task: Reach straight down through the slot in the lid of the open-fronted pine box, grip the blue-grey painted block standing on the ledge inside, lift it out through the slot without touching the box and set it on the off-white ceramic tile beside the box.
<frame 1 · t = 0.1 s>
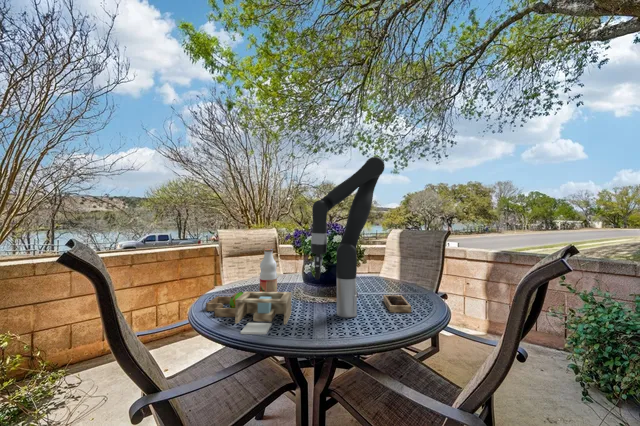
hand: (317, 277, 135), 17 cm above the table, tool pointing down, fingers open, 8 cm apart
fruit juice: (268, 300, 157), on the table
wooden tray: (396, 306, 147), on the table
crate: (264, 318, 129), on the table
corn rack: (238, 307, 145), on the table
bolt: (396, 307, 146), on the table
block: (264, 311, 129), point 3 cm above the table, touching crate
tile: (256, 329, 116), on the table
corn: (238, 307, 145), on the table
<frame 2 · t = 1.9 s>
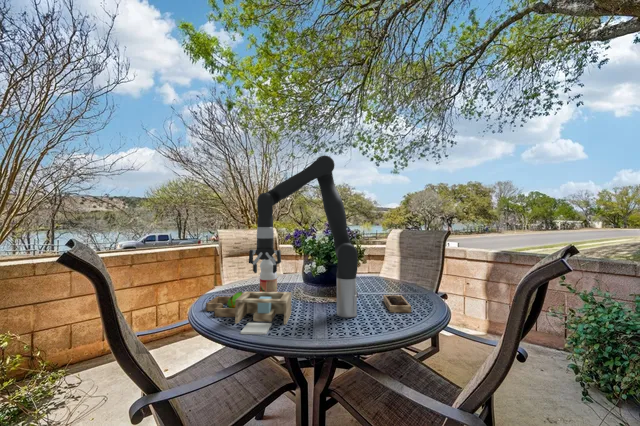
hand: (264, 273, 129), 20 cm above the table, tool pointing down, fingers open, 8 cm apart
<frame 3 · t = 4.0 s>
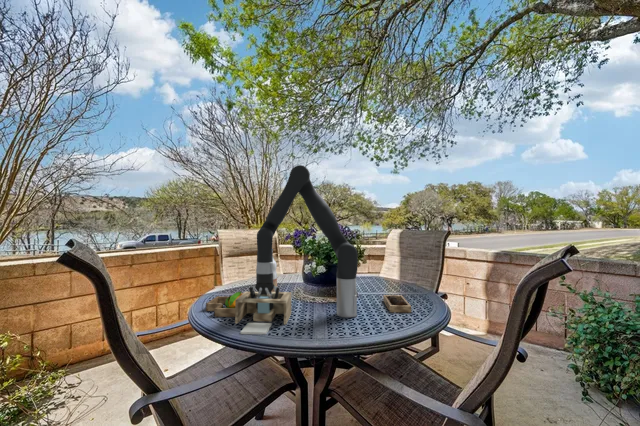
hand: (264, 309, 129), 4 cm above the table, tool pointing down, fingers closed on block, 5 cm apart
block: (264, 311, 129), point 3 cm above the table, touching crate, gripper
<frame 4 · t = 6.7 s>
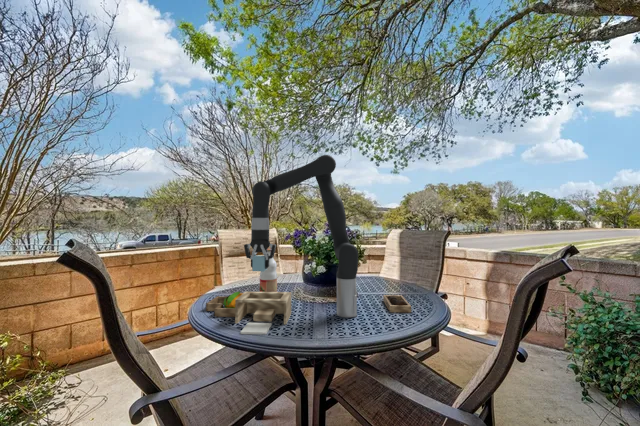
hand: (259, 268, 122), 24 cm above the table, tool pointing down, fingers closed on block, 5 cm apart
block: (259, 270, 123), point 23 cm above the table, touching gripper
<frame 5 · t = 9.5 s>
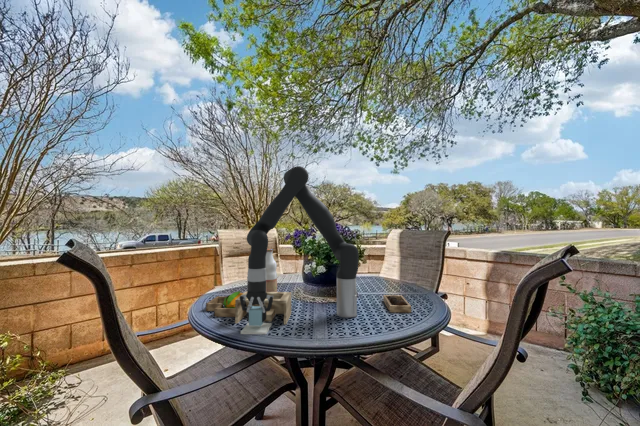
hand: (256, 320, 116), 3 cm above the table, tool pointing down, fingers closed on block, 5 cm apart
block: (256, 323, 116), point 2 cm above the table, touching gripper
when the fingers open (3 cm above the table, at t = 9.9 s): block drops 1 cm, resting on tile.
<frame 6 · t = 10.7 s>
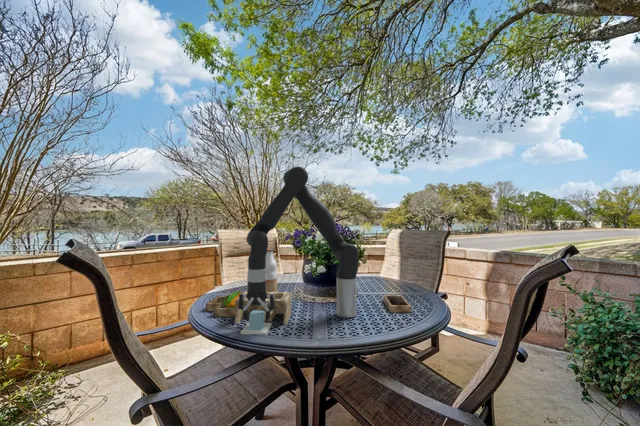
hand: (256, 319, 116), 4 cm above the table, tool pointing down, fingers open, 8 cm apart
block: (256, 327, 116), point 1 cm above the table, touching tile
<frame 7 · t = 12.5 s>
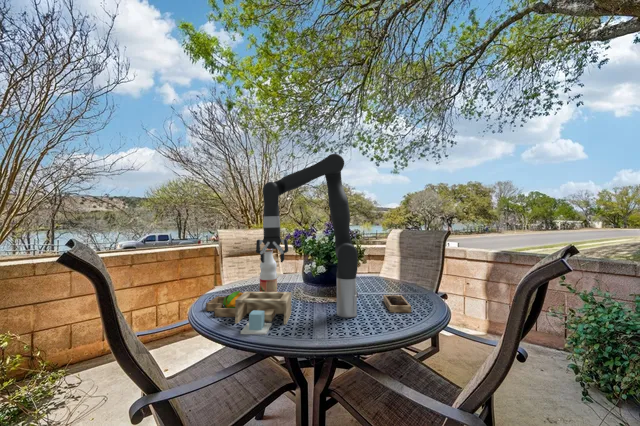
hand: (272, 262, 130), 25 cm above the table, tool pointing down, fingers open, 8 cm apart
corn: (234, 306, 147), on the table, touching corn rack
everything else where it was.
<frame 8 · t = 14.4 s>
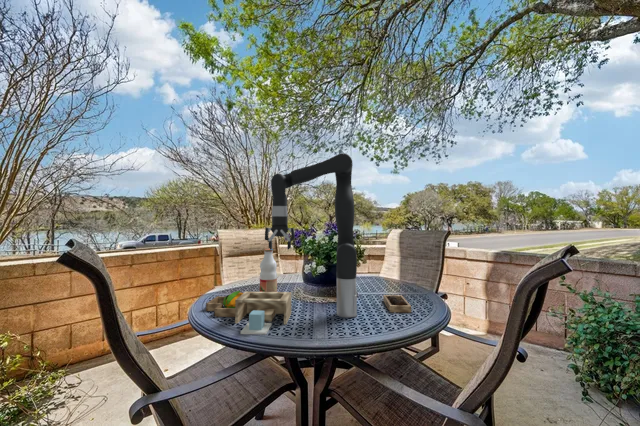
hand: (279, 249, 138), 30 cm above the table, tool pointing down, fingers open, 8 cm apart
corn: (234, 306, 147), on the table
everything else where it was.
at the end: block inside the target area on the tile (0.1 cm from its centre), point 0.8 cm above the tile's base; block tilted 0°; block touching tile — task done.
